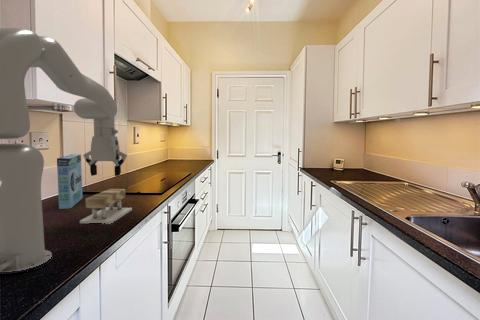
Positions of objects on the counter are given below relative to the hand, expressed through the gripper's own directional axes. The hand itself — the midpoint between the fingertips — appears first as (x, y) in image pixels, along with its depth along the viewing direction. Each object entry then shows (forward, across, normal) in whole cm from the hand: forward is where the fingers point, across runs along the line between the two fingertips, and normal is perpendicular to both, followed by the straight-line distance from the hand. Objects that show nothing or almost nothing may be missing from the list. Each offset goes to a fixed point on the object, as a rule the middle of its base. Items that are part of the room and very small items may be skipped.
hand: (105, 175), depth 114 cm
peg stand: (+17, 0, -1) cm, 17 cm away
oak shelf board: (+11, 0, 0) cm, 11 cm away
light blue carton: (+17, +27, -19) cm, 37 cm away
